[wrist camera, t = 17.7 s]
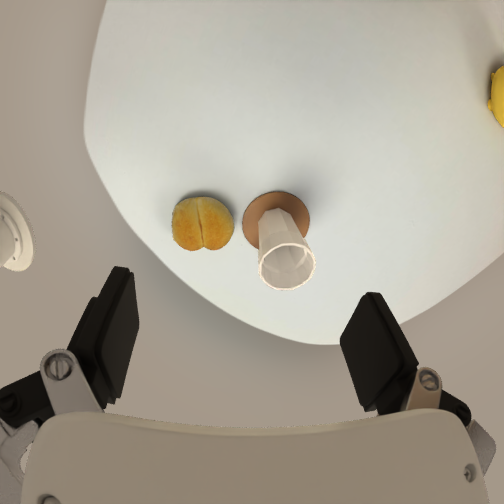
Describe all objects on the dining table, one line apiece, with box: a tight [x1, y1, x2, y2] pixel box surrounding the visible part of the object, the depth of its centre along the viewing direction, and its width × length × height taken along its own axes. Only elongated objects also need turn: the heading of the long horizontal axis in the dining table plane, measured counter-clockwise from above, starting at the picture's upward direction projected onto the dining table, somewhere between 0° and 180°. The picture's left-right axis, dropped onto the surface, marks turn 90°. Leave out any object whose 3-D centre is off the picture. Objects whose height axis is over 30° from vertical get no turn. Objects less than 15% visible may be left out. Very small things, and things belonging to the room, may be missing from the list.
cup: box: [258, 208, 316, 290], centre depth 37 cm, size 7×7×11 cm
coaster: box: [242, 192, 310, 249], centre depth 41 cm, size 10×10×1 cm
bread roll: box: [172, 197, 234, 251], centre depth 39 cm, size 8×9×4 cm
